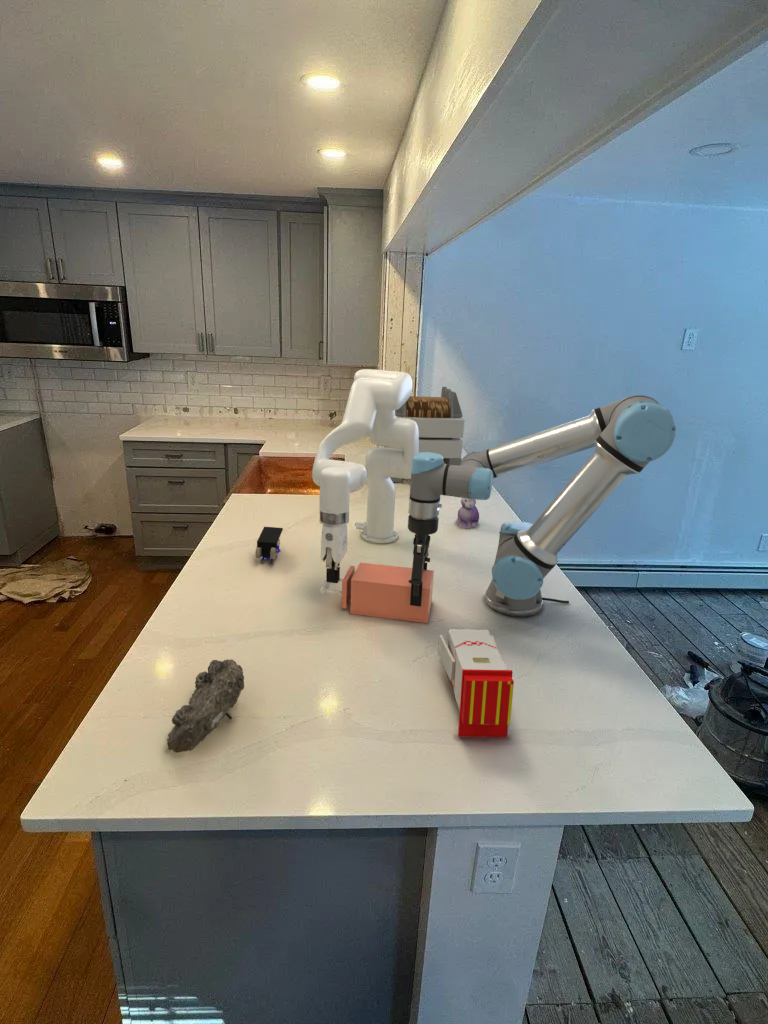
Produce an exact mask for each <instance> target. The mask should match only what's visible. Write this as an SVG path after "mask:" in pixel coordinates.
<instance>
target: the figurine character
mask: <svg viewBox="0 0 768 1024" xmlns="http://www.w3.org/2000/svg"><path fill="white" fill-rule="evenodd" d="M283 529H284V528H283V527H276V526H275V527H274V526H263V528H262V530H261V532H260V535H259V537H258V539H257V541H256V548H255V552H254V558H255V559H256V560H260V564H263V563H264V561H265V560H270V561H269V564H272V563H273V562H274V560H275V559H276V558H277V557H278V554H279V553H280V552H281V549H280V546H281V539H280V538H281V535H282V533H283V531H284V530H283Z"/></svg>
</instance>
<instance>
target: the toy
mask: <svg viewBox="0 0 768 1024" xmlns="http://www.w3.org/2000/svg"><path fill="white" fill-rule="evenodd" d="M446 640H447V643H446V641H445V639H444V636H443V635H442V634H439V637H438V646H437V656H438V657H439V659H440V661H441V663H442V666H443V668H444V670H445V672H446V674H447V677H448V679H449V681H450V684H451V687H452V690H453V693H454V697H455V701H456V705H457V708H458V711H459V714H458V715H459V716H458V730H457V731H458V732H457V737H458V738H508V731H509V726H510V725H511V717H512V707H513V697H514V696H513V695H514V684H515V680H514V679H513V673H514V671H513V670H512V669H508V667H507V665H506V662H505V661H504V659H503V658H502V655H501V653H500V651H499V649H498V647H497V643H496V639H495V637H494V635H493V634H491V632H490V631H489V629H467V628H466V629H465V628H463V629H461V628H460V629H459V628H448V630H447V639H446Z"/></svg>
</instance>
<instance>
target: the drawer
mask: <svg viewBox="0 0 768 1024" xmlns="http://www.w3.org/2000/svg"><path fill="white" fill-rule="evenodd" d="M355 571H356V567H355V565H349V568H348V570H347V571H346V573H345V575H344V576H343V578H341V577H340V580H339V582H341V590H335V589H329V587H330V586H331V584H332V583H330V582H327V581H326V580H325V581H324V582H323V585H322V586H321V588H320V590H319V592H320V594H323V595H324V594H326V593H328V594H335V595H336V594H338V595H341V609H347V608H348V606H349V604H350V603H351V579H352V577H353V575H354V573H355Z"/></svg>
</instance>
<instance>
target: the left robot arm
mask: <svg viewBox="0 0 768 1024" xmlns="http://www.w3.org/2000/svg"><path fill="white" fill-rule="evenodd" d="M412 391H413V378H412V376H411V375H410V374H409V373H408V372H406V371H398V370H397V371H396V370H385V369H375V368H374V369H373V368H361V369H359V370H357V371H356V372H355V373H354V376H353V382H352V384H351V387H350V389H349V394H348V398H347V402H346V405H345V409H344V413H343V415H342V416H343V417H342V421H341V423H340V425H338V426H336V427H335V428H334V429H332V430H331V431H330V432H329V433H328V434H327V435H326V436H325V437H324V438H323V439H322V440H321V442H320V443H319V445H318V447H317V449H316V452H315V453H316V454H315V456H314V460H313V465H312V469H311V470H312V471H311V479H312V481H313V483H314V484H315V485H316V486H318V487H319V507H318V508H319V509H318V510H319V512H318V514H319V521H318V522H319V524H321V525H322V526H321V541H320V542H321V543H320V558H321V561H322V562H323V563H324V562H325V569H326V574H325V575H326V577H325V578H326V579H325V581H327V582H330V583H331V584H338V583H339V582H340V581H339V580H340V578H341V577H340V576H341V562H342V561H343V559H344V558H345V556H346V554H347V553H348V548H349V547H348V546H349V545H348V543H349V542H348V524H350V523H349V522H350V494H351V493H355V492H358V491H360V490H361V489H362V488H363V487H364V486H365V485H366V483H367V491H366V519H365V520H366V521H364V522H362V521H355V522H354V527H355V529H356V530H361V534H360V535H361V538H362V539H363V540H364V541H366V542H368V543H373V544H389V543H393V542H395V541H397V540H398V537H399V534H398V532H397V531H396V530H395V528H394V527H395V510H396V509H395V508H396V507H395V506H396V491H397V490H396V485H395V484H394V483H395V482H392V480H391V478H390V477H394V478H402V480H403V479H404V480H406V479H407V480H411V474H410V473H411V469H412V460H413V457H414V456H415V455H416V454H418V453H419V429H418V425H417V423H416V422H415V421H413V420H411V419H404V418H397V417H396V416H395V410H398V409H399V408H400V407H401V406H402V405H403V404H404V403H405V402H406V401H407V400H408V399H409V397H410V396H411V395H412ZM368 437H369V440H370V442H371V443H372V444H373V445H375V446H374V447H372V448H370V449H368V451H367V452H366V455H365V465H364V464H362V463H360V462H355V461H346V460H338V459H331V457H332V455H333V454H334V453H335V452H336V451H337V450H338V449H340V448H342V447H344V446H347V445H349V444H352V443H355V442H357V441H361V440H364V439H366V438H368ZM387 447H392V448H387ZM395 448H401V449H395ZM365 466H366V467H365Z"/></svg>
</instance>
